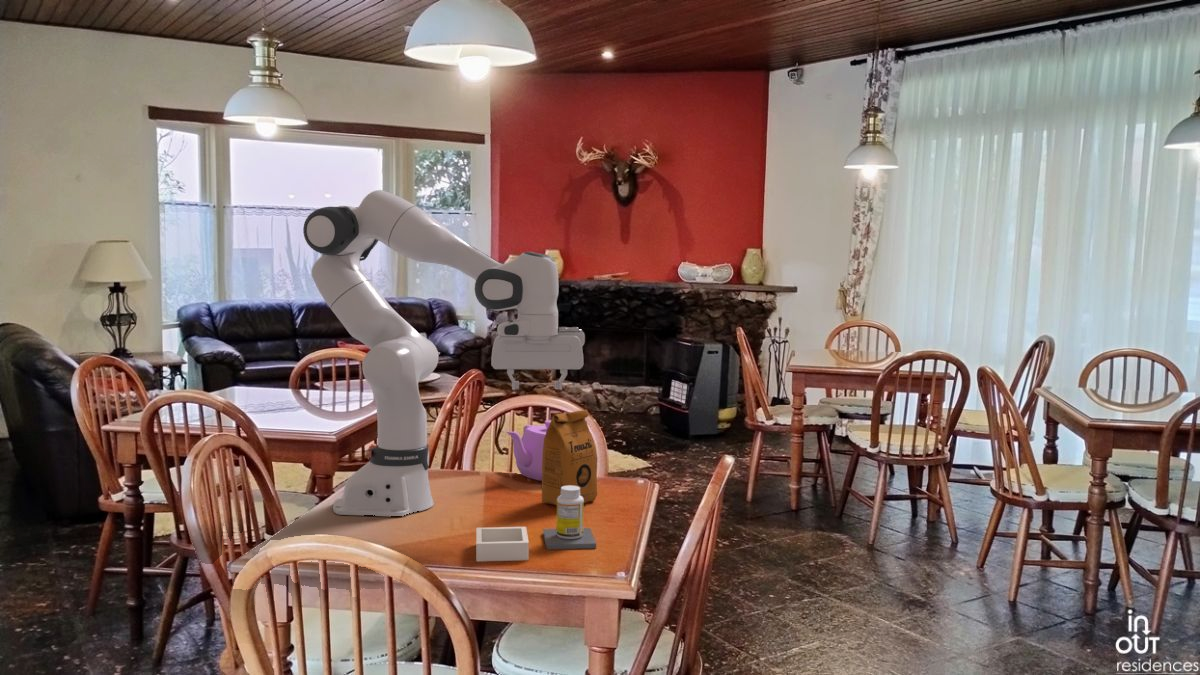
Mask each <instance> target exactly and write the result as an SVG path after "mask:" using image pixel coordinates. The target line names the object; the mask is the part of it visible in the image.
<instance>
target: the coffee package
mask: <svg viewBox="0 0 1200 675" xmlns="http://www.w3.org/2000/svg"><path fill="white" fill-rule="evenodd" d="M587 417H589V411H588V409H584V410H577V411H569V412H562V413H555V414H553V415H552V417H551V419H550V420H551V422H550V424H549V428H548V429H547V432H546V435H545V437H544V444H543V460H542V481H541V487H542V488H541V502H542V503H543V504H549V505H555V506H557V498H558V497H559V496H560V495H561V493H560V492H561V487H563V486H568V485H572V486H578V487H580V496H582V497H583V499H584V504H586V503H589V502H594V501H595V500H596V498H597V496H598V481H597V480H598V479H597V478H598V476H597V474H598V472H597V471H598V455H597V448H596V446H595V443H594V439H593V436H592V435H591V434H592V433H591V432H590V428H589V426H588V422H587V420H586V418H587Z"/></svg>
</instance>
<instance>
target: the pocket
mask: <svg viewBox="0 0 1200 675" xmlns="http://www.w3.org/2000/svg"><path fill="white" fill-rule="evenodd" d="M475 531H476V533H475V534H476V535H475V536H476V538H475V542H476V544H475V545H476V547H475V548H476V550H475V551H476V552H475V553H476V554H475V555H476V557H475V558H476V560H475V562H507V561H508V562H509V561H510V562H511V561H512V562H515V561H529V556H530V555H529V553H530V552H529V548H530V542H529V537H528V531H527V526H500V527H499V526H498V527H497V526H496V527H493V526H492V527H476V530H475Z"/></svg>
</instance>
